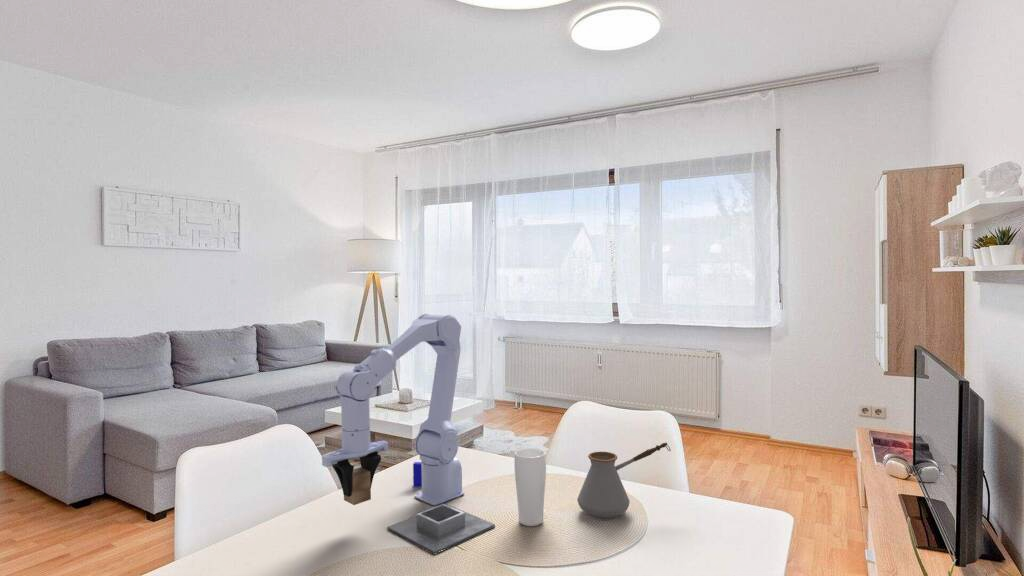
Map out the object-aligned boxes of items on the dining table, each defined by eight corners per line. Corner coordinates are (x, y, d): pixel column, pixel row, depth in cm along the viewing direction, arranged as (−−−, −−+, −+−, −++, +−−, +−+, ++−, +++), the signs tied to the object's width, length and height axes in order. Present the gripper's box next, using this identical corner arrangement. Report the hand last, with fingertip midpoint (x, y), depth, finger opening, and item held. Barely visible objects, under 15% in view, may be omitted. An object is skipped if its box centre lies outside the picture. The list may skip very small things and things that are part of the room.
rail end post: (360, 494, 120) (360, 467, 120) (370, 499, 117) (370, 471, 117) (343, 500, 117) (343, 471, 117) (353, 505, 114) (353, 476, 114)
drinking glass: (551, 518, 121) (550, 449, 121) (539, 531, 115) (538, 459, 115) (523, 513, 124) (522, 446, 124) (510, 525, 118) (509, 455, 118)
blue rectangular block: (423, 471, 153) (423, 449, 153) (439, 471, 152) (438, 450, 152) (407, 487, 141) (407, 463, 141) (424, 487, 141) (424, 464, 141)
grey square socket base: (446, 506, 128) (446, 492, 128) (494, 527, 117) (494, 512, 117) (387, 529, 117) (387, 514, 117) (434, 554, 106) (434, 538, 106)
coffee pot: (585, 526, 117) (584, 455, 117) (572, 504, 128) (571, 440, 128) (681, 519, 120) (680, 450, 120) (660, 498, 131) (659, 435, 131)
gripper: (375, 418, 125) (376, 478, 125) (314, 431, 115) (315, 497, 115) (393, 423, 120) (394, 485, 120) (331, 438, 110) (332, 506, 110)
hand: (357, 492), depth 117 cm, fingers closed on rail end post, 4 cm apart
